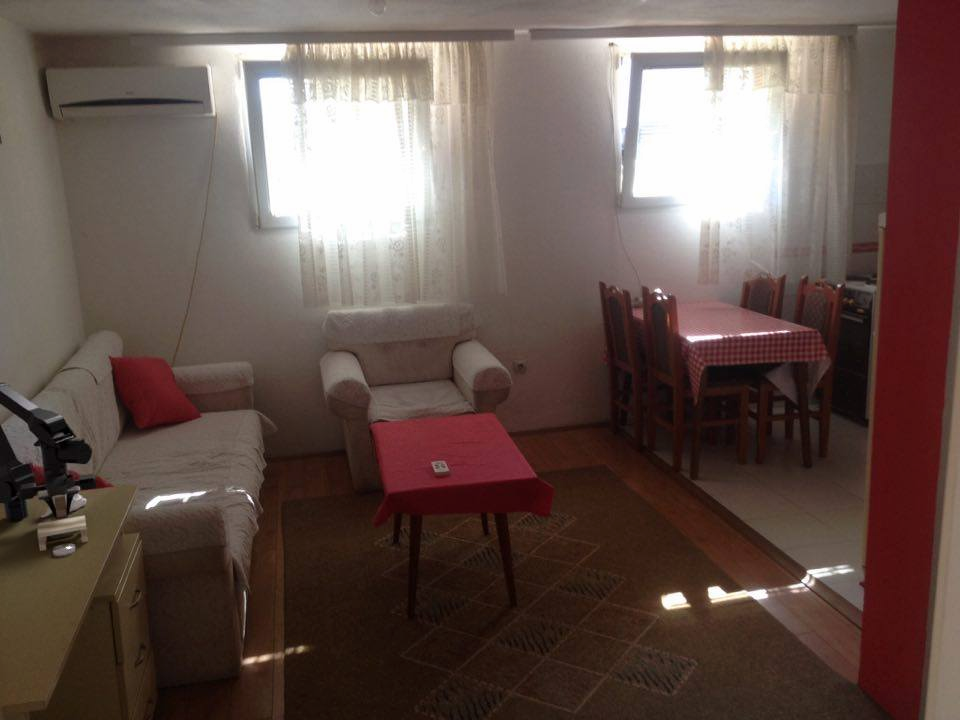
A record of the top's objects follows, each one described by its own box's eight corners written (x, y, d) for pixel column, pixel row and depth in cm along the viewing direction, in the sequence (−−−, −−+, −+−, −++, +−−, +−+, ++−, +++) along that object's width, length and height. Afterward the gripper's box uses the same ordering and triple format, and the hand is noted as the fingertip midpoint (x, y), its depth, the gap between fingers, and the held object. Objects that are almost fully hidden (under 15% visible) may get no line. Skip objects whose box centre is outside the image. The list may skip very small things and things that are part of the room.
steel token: (53, 551, 209) (53, 546, 209) (75, 547, 211) (75, 541, 211) (53, 559, 205) (52, 553, 204) (75, 554, 207) (74, 549, 206)
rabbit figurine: (40, 518, 232) (35, 485, 231) (40, 510, 239) (35, 477, 237) (87, 509, 238) (83, 476, 236) (86, 501, 245) (81, 469, 243)
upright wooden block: (52, 519, 231) (48, 495, 229) (73, 515, 233) (69, 491, 232) (51, 539, 217) (47, 513, 215) (73, 535, 219) (70, 509, 217)
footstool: (40, 540, 216) (37, 523, 215) (87, 531, 221) (84, 515, 220) (40, 551, 209) (37, 534, 208) (88, 541, 214) (85, 525, 213)
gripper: (14, 476, 215) (22, 533, 218) (93, 464, 223) (100, 519, 226) (16, 464, 225) (23, 519, 228) (92, 453, 233) (98, 506, 236)
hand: (61, 516), depth 229 cm, fingers closed on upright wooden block, 2 cm apart
